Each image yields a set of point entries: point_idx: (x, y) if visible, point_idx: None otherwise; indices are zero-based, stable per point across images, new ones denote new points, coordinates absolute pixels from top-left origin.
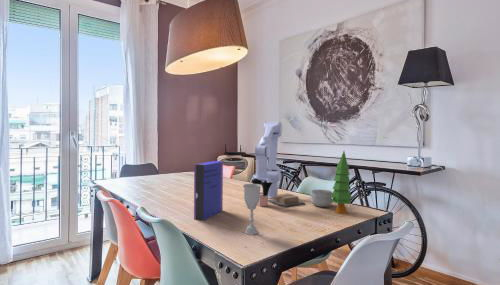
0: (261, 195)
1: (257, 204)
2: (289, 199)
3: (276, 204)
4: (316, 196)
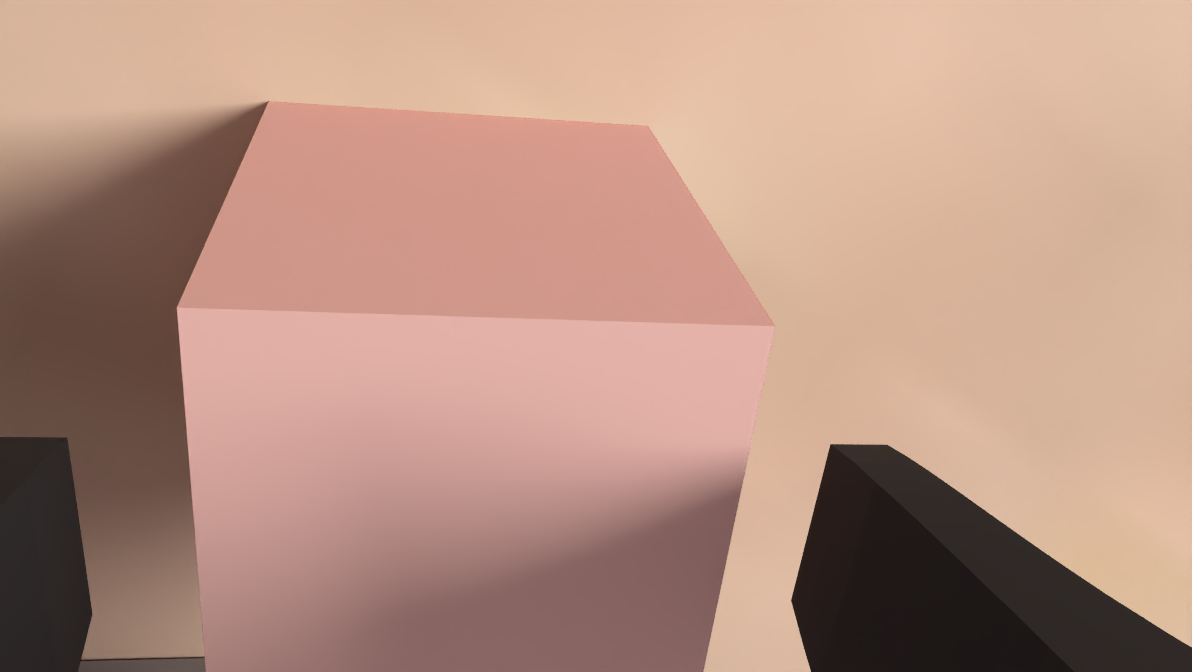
0: (191, 387)
1: (448, 126)
2: None
3: (202, 668)
4: None
